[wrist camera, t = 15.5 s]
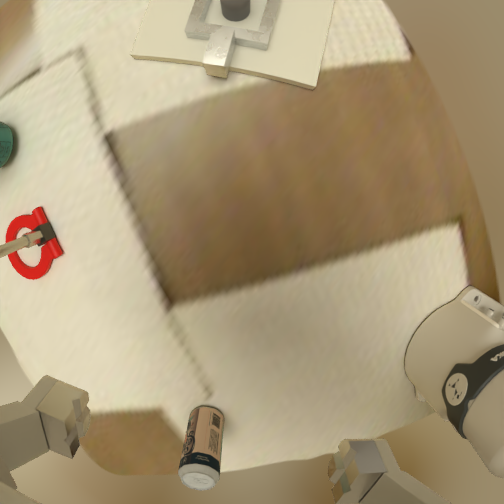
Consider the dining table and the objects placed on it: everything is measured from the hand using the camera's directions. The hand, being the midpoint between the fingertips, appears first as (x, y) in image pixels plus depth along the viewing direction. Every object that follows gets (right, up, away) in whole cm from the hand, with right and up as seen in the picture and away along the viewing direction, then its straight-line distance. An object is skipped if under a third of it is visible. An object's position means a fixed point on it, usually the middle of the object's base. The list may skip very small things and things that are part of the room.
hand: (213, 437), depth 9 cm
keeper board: (-1, +31, +20) cm, 37 cm away
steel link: (-1, +29, +19) cm, 35 cm away
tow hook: (-27, +7, +26) cm, 38 cm away
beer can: (-5, -17, +32) cm, 37 cm away
